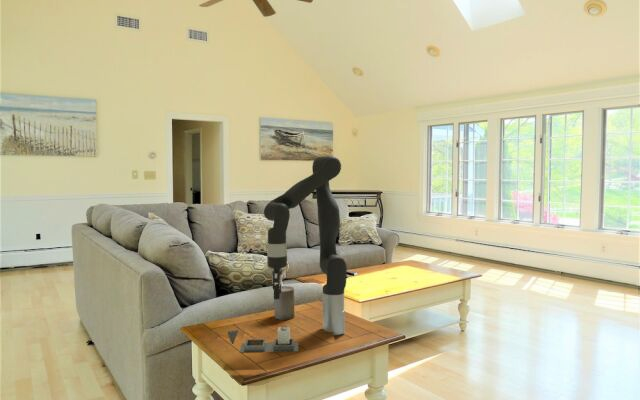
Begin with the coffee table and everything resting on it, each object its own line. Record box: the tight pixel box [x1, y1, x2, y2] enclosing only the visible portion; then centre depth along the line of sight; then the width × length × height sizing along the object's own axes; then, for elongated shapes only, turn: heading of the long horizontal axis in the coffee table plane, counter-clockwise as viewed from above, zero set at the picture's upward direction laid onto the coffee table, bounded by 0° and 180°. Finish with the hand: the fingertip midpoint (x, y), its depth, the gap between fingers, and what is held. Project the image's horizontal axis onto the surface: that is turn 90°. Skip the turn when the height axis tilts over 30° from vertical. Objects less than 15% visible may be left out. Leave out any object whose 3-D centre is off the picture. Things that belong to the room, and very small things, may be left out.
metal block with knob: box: [277, 326, 291, 345], centre depth 179 cm, size 4×4×8 cm
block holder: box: [239, 338, 299, 353], centre depth 179 cm, size 22×9×3 cm, turn 92°
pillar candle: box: [273, 285, 295, 321], centre depth 221 cm, size 10×10×15 cm
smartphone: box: [227, 330, 239, 344], centre depth 195 cm, size 7×1×15 cm
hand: (277, 296), depth 180 cm, fingers open, 8 cm apart
